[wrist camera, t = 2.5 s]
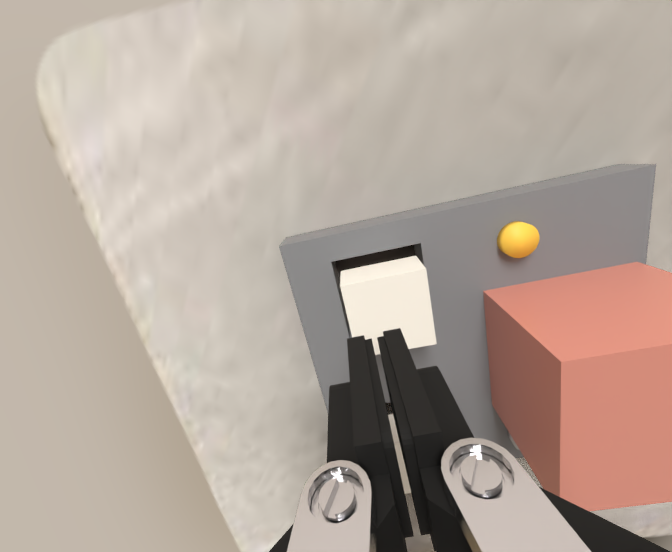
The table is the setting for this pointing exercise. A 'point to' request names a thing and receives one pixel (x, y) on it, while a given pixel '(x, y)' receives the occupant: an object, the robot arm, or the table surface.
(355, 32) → the table surface
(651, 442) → the cap
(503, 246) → the board
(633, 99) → the table surface
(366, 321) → the block
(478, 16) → the table surface
